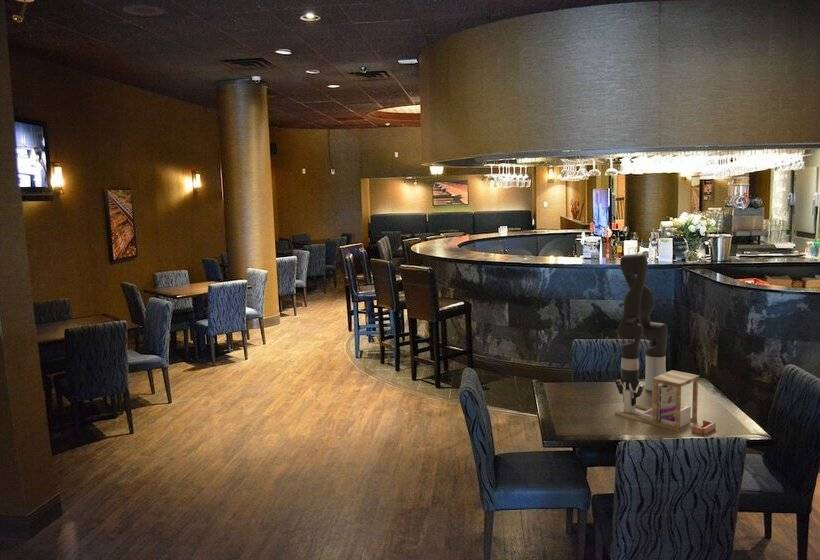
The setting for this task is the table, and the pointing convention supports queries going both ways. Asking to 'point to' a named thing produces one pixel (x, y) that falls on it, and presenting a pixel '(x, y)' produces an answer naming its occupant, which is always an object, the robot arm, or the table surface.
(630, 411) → the sled
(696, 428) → the tray
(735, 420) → the table surface
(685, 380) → the tunnel
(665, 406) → the candy bar box
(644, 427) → the table surface
